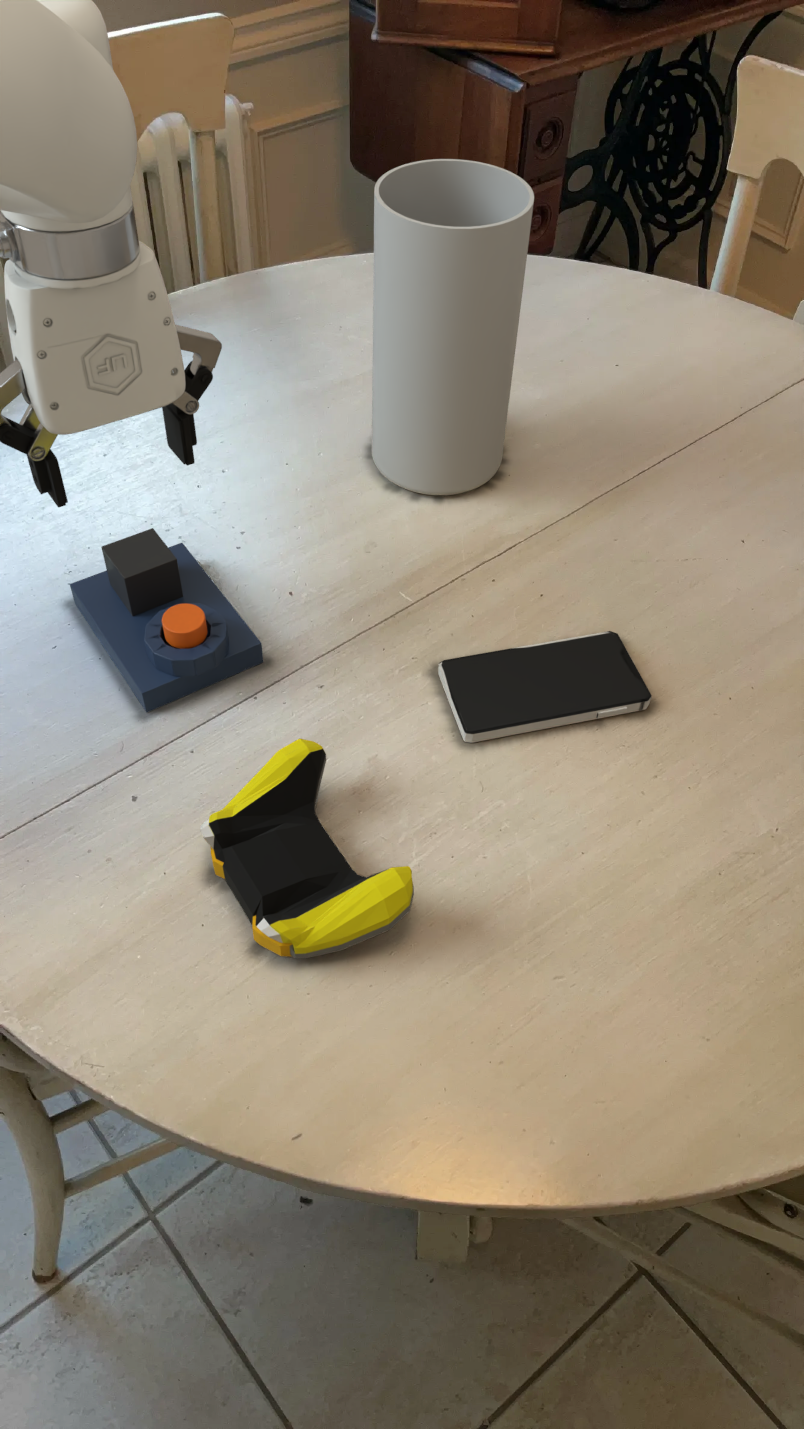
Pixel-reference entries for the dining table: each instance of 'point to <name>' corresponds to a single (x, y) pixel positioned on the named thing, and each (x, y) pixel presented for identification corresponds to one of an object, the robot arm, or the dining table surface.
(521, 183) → the cylinder vase
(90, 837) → the dining table surface
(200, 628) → the power button
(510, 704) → the smartphone
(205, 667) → the button base
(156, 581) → the block
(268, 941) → the gaming controller
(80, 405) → the robot arm
